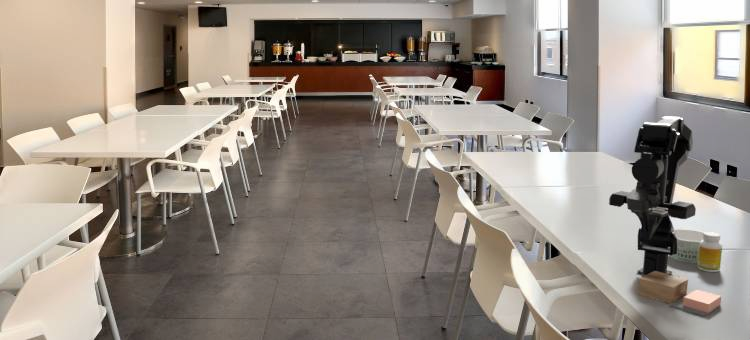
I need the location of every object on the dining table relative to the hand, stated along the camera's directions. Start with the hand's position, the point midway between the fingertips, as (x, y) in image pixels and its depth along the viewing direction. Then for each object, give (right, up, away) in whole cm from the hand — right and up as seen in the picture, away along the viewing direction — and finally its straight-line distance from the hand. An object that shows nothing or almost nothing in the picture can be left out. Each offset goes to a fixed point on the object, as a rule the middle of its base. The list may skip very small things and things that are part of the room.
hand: (648, 239), depth 157 cm
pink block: (+9, -12, -9) cm, 17 cm away
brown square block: (+3, -13, -2) cm, 14 cm away
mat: (+7, -14, -8) cm, 18 cm away
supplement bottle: (+23, -10, +16) cm, 29 cm away
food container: (+22, -8, +26) cm, 35 cm away
